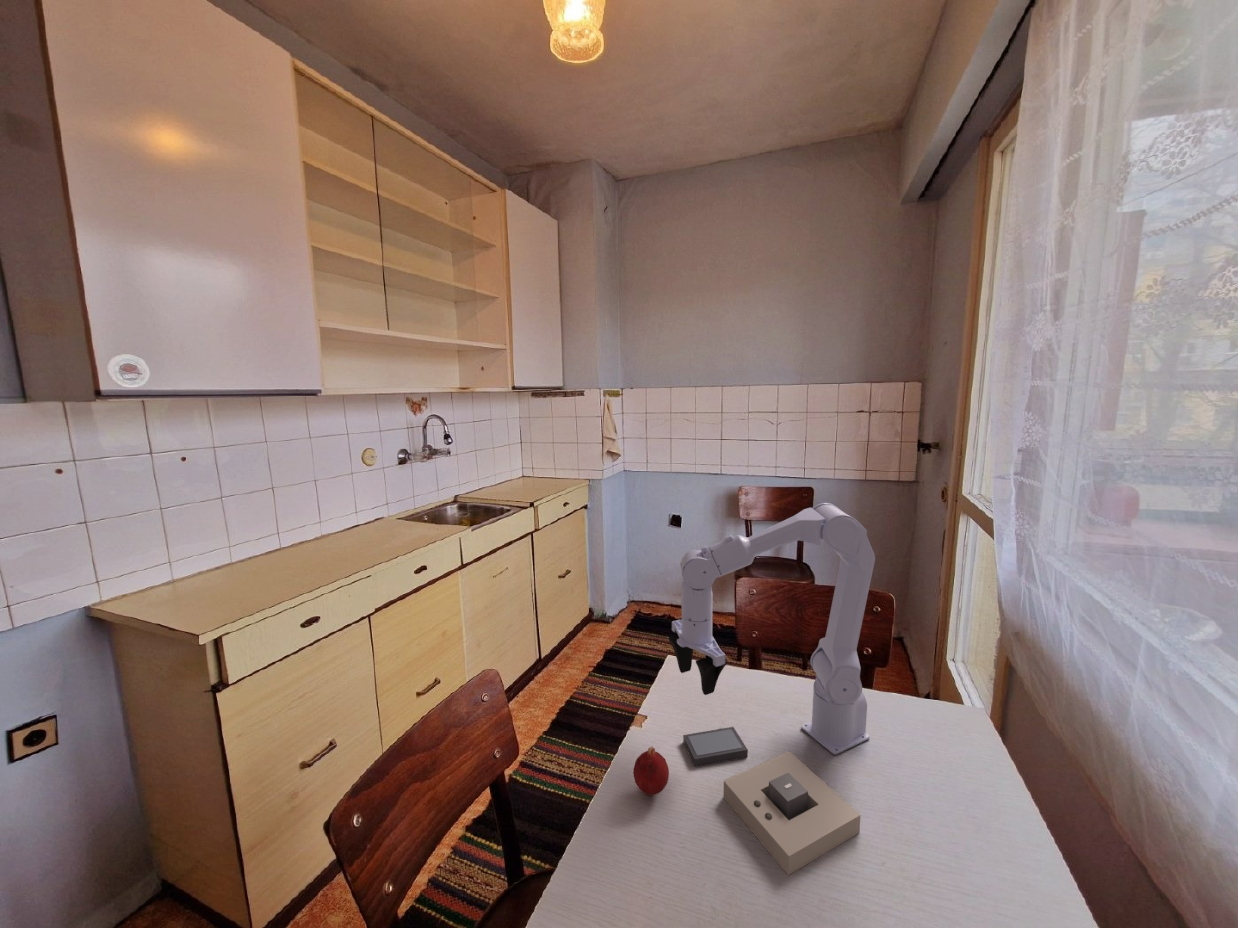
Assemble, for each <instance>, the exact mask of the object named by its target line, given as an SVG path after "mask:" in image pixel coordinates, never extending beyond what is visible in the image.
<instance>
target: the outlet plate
mask: <svg viewBox="0 0 1238 928" xmlns="http://www.w3.org/2000/svg"><path fill="white" fill-rule="evenodd" d="M786 773H789V774H790V775H791V776H792V777H794V778H795V779H796V780H797V781H798V782H799V783H800V784H801V785H802V786H803V787H804V788H805V789H806V790H807V791H808V804H807V811H806V812H804V813H802V814H800V815H798V816H796V817H795V818H793V819H791V820H788V819H787V818H786V817H785V816H784V815H783V814H782V812H781V811H780V810H779V809H778V808H777V807H776V806H775V805H774V804H773V803H772V802H771V801H770V800H769V799H768V793H769V781H771V780H773V779H776V778H778V777H780V776H782V775H784V774H786ZM722 796H723V798H724V799H725V801H726V802H727V803H728V804H729V806H730V807H731V808H732V809H733V810H734V812H735V813H736V814H737V815H738V817H739V818H740V819H741V820H742V821H743V822H744V824H745V826H747V827H748V829H749V830H750V831H751V832H752V834H754V835H755V836H754V837H756V838H757V840H759V842H760V843H761V844H762V846H763V847H764V848H765V849H766V850H767V851H768V852H769V854H770V855H771V856H772V857H773V859H774V860H775V861H776V862H777V864H778V865H779V866H780V867H781V869H782V870H783V871H784V872H785V873H786V875H787V876H790V875H791V874H793V873H795V872H797V871H798V870H800V869H801V868H803V867H805V866H807V865H808V864H810V863H811V862H813V861H814V860H816V859H818V858H820V857H821V856H823V855H825V854H827V853H828V852H830V851H831V850H833V849H834V848H835V849H836V847H838V846H840V845H841V844H843V843H844V842H847V841H848V840H849V839H851V838H853V837H855V836H856V835H858V834H859V833H860V829H861V828H860V827H861V814H860V813H859V812H858V811H857V810H856V809H855V808H854V807H852V806H851V805H850V804H849V803H848V802H847V801H846V800H844V798H842V797H841V796H840V795H839V794H838V793H836V792H835V790H833V788H832V787H830V786H829V785H827V784H826V782H824V781H823V780H822V779H821V778H820V777H819V776H817V774H815V772H814V771H812V770H811V769H810V768H809V767H807V765H805V764H804V763H803V762H802V761H800V759H799V758H797V757H796V756H795V755H794V753H793V754H792V752H790V751H786V752H783V753H782V754H780V755H777V756H775V757H772V758H771V759H769V760H766V761H764V762H762V763H760V764H758V765H755V766H752V767H751V768H749V769H747V770H744V771H742V772H739V773H738V774H735V775H733V776H731V777H729V778H727V779H724V780H723V795H722Z"/></svg>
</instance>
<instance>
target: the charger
mask: <svg viewBox="0 0 1238 928" xmlns="http://www.w3.org/2000/svg"><path fill="white" fill-rule="evenodd" d="M768 799H769V800H770V801H771V802H772V803H773V804H774V805H775V806H776V807H777V808H778V809H779V810H780V811H781V812H782V814H783V815H784V816H785V817H786V818H787V819H788V820H791V819H793V818H795V817H796V816H798V815H800V814H802V813H804V812H806V811H807V804H808V791H807V790H806V789H805V788H804V787H803V786H802V785H801V784H800V783H799V782H798V781H797V780H796V779H795V778H794V777H792V776H791V775H790V774H789V773H786V774H784V775H782V776H780V777H778V778H776V779H773V780H771V781H769V793H768Z"/></svg>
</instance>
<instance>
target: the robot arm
mask: <svg viewBox="0 0 1238 928" xmlns="http://www.w3.org/2000/svg"><path fill="white" fill-rule="evenodd" d="M867 533H868V530H867V528H865V527H864V526H863V525H862V523H860V522H859V521H858V520H857V519H856V518H854V517H853V516H851V515H848V514H847V513H846V512H845V511H843V510H841V509H840V508H839V507H838V506H837V505H835V504H832V503H830V502H822V503H818V504H816V505H815V506H813V507H807V508H804V509H802V510H801V511H799V512H797V513H796V514H794V515H793V516H791V517H788V518H786V519H785V520H782V521H780V522H777V523H776V524H774V525H771V526H769V527H768V528H767V527H766V528H765V529H762V530H761V531H759V532H757V533H755V534H752V535H750V536H749V537H747V536H744V535H741V534H736V535H732V534H730V533H729V534H727V535H725V536H724V540H721V541H719V542H716V543H714V544H712V545H709V546H706V545H703V546H701V547H700V549H692V550H689V551H687V552H686V553H684V556H682V558H681V561H680V569H681V574H682V582H681V583H682V584H681V585H682V586H681V587H682V590H681V619H677V620H673V621H671V631H672V632H673V633H674V634H673V635H670V636H669V637H668V641H669V643H670V645H671V647H672V648H673V652H674V653H675V657H676V662H677V664H678V665H677V666H678V669H679V672H680V673H681V674H684V673H687V672H690V671H691V669H692V665H693V663H692V662H693V653H694V651H696V652H697V653H701V654H703V655H705V656H704V657H702V658H699V659H697V660H695V664H696V666H697V668H698V671H699V675H700V683H701V684H700V685H701V691H702V694H703V695H704V696H707V695H711V694H713V693H714V692H715V689H716V686H717V682H718V679H719V678H720V675H721V673H722V671H723V669H724V668H725V667H726V665H727V664H728V658H726V654H725V652H724V651H722V649H721V648H720V646H719V645H718V643H717V641H716V639H715V638H714V636H713V603H714V601H713V597H714V596H713V590H712V588H713V585H714V583H715V581H716V579H717V578H721V577H723V576H726V575H728V574H730V573H733V572H737V570H740V569H743V568H745V567H748V566H750V565H752V563H753V562H754V559H755V557H756V556H757V555H760V554H762V553H765V552H769V551H772V550H775V549H777V548H780V547H783V546H786V545H788V544H791V543H794V542H798V541H801V542H804V543H808V544H812V545H816V546H821V540H822V541H824V543H825V544H826V546H828V547H829V548H830V549H832V550H833V551H834V552H835V553H836V554H837V556H839V558H840V561H839V566H838V571H837V576H836V583H835V586H834V593H833V596H832V602H831V607H830V611H829V612H830V613H829V617H828V623H827V628H826V632H825V637H822V638H820V639H818V640H819V641H818V645H817V648H816V649H815V650H814V652H813V653H812V655H811V656H810V666H811V669H812V670H813V672H815V679H814V682H813V690H812V711H811V713H812V714H811V715H812V716H811V721H808V722H806V723H804V724H801V727H800V728H801V729H802V730H803V732H805V733H806V734H808V735H809V736H810V737H811V738H813V739H814V740H815V741H816V742H818V743H819V744H820V745H821V746H823V747H824V748H825V749H826V750H828V751H829V752H830V753H831V754H833V755H835V756H836V755H838V754H840V753H842V752H844V751H846V750H848V749H850V748H852V747H856V746H857V745H858V744H861V743H863V742H865V741H867V740H869V739H870V736H871V735H870V734H869V733H867V732H866V730H867V729H866V728H867V716H868V715H867V713H868V702H867V699H866V696H865V695H864V692H863V685H862V681H861V677H860V676H861V669H862V668H861V664H860V659H859V656H858V651H857V648H858V644H859V638H860V635H861V630H862V624H863V620H864V616H865V610H866V606H867V600H868V595H869V590H870V586H871V580H872V576H873V573H874V572H873V571H874V566H875V563H876V555H875V553H874V550H873V548H872V545H871V543H870V542H871V541H870V540H869V538H868V535H867Z"/></svg>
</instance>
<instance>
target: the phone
mask: <svg viewBox="0 0 1238 928" xmlns="http://www.w3.org/2000/svg"><path fill="white" fill-rule="evenodd" d="M682 736H683V741H682V743H683V745H684V747H685V749H686V752H687V753H688V756H689V758H690V760H691V762H692V765H693V767H694V768H697V767H702V766H708V765H713V764H719V763H724V762H730V761H734V760H740V759H746V758H748V757H749V756H748V753H749V749H748V748H747V747H746V744H745V743H744V742H743V740H742V739H741V736H740V735H739V734H738V732H737V730H736V728H735V727H734V726H730V727H724V728H723V727H722V728H719V729H711V730H706V731H700V732H694V733H687V734H683V735H682Z"/></svg>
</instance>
